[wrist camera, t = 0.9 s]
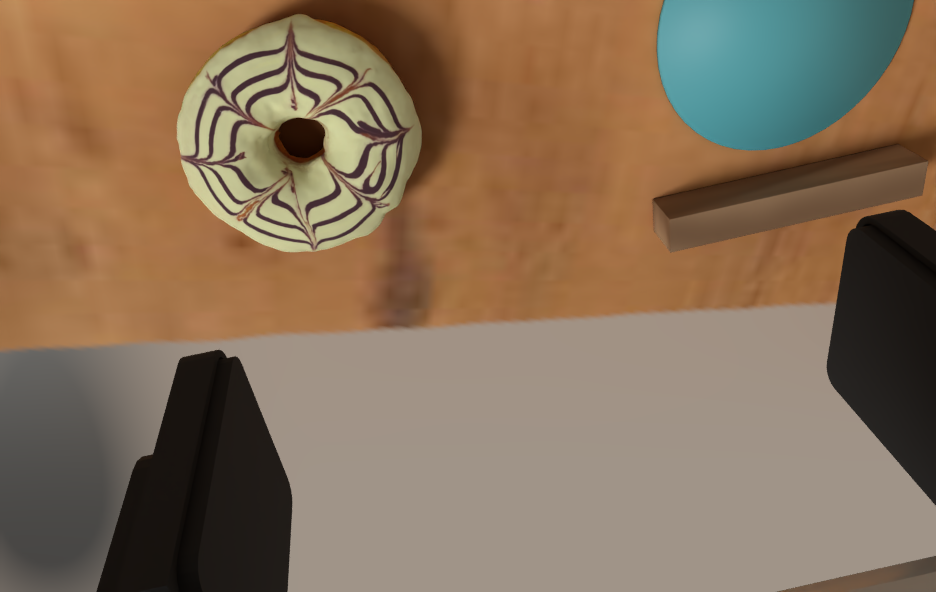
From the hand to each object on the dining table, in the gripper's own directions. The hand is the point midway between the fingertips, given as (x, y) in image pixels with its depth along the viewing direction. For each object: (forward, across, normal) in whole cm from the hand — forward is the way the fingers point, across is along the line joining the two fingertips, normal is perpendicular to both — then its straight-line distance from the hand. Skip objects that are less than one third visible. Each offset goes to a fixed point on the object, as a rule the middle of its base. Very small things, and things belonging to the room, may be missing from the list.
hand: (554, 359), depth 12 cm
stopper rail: (+27, -18, +13) cm, 35 cm away
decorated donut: (+27, +6, +5) cm, 28 cm away
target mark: (+27, -18, +4) cm, 32 cm away
